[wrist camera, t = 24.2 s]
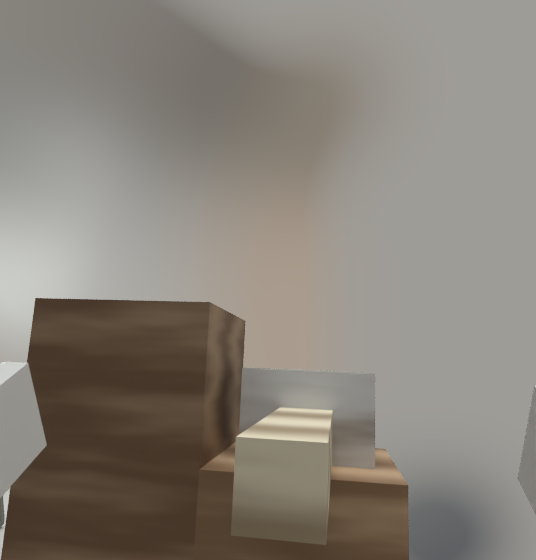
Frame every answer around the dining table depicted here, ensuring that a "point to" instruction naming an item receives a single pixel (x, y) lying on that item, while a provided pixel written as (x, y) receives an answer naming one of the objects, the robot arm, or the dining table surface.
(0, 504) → the digital clock
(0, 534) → the dining table surface
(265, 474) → the hammer
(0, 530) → the dining table surface
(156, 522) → the stand
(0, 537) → the dining table surface
